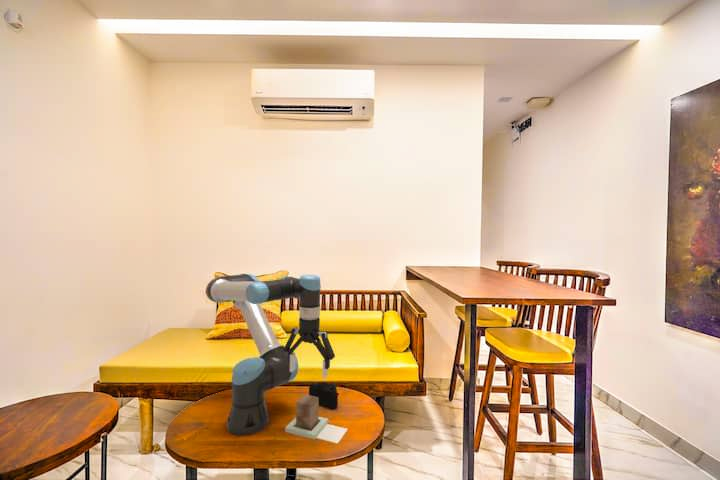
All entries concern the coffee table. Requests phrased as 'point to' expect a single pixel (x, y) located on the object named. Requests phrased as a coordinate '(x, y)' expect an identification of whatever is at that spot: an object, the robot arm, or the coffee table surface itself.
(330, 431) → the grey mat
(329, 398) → the film camera
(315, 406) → the walnut block
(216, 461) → the coffee table surface
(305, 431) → the pocket board
